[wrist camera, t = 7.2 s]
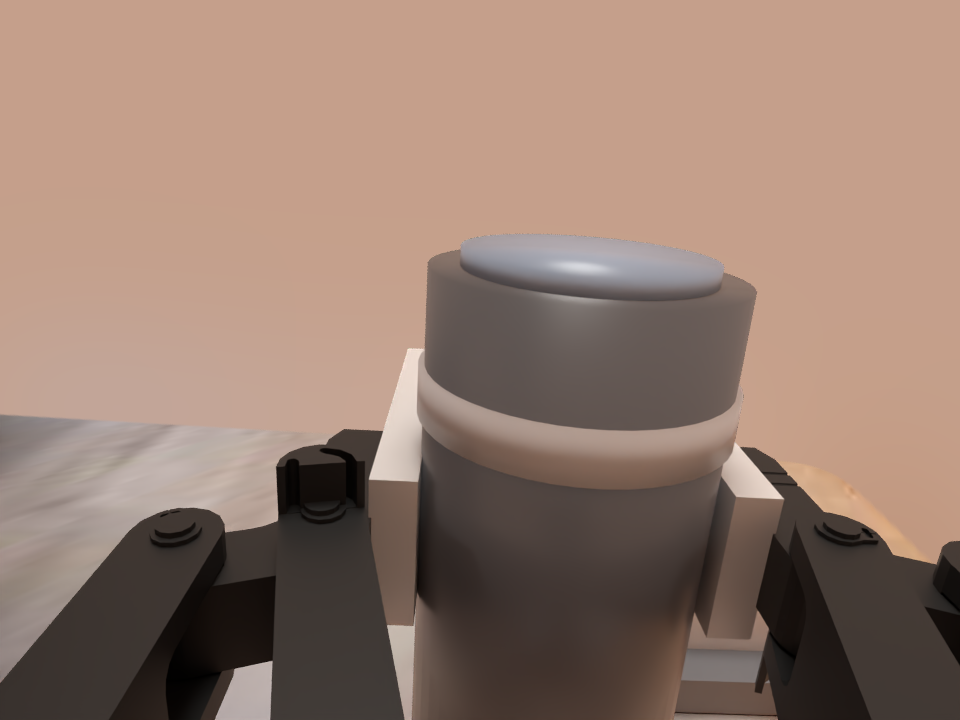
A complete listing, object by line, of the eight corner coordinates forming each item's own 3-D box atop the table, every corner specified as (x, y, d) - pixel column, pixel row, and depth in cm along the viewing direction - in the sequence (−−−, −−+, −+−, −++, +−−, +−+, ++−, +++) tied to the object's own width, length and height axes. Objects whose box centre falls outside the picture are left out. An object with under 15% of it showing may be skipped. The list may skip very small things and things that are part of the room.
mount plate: (539, 707, 19) (548, 619, 18) (514, 499, 31) (519, 437, 30) (933, 720, 20) (963, 634, 19) (764, 509, 31) (778, 449, 30)
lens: (391, 931, 11) (408, 274, 8) (413, 689, 16) (429, 223, 13) (701, 934, 11) (857, 298, 8) (628, 695, 16) (704, 239, 13)
